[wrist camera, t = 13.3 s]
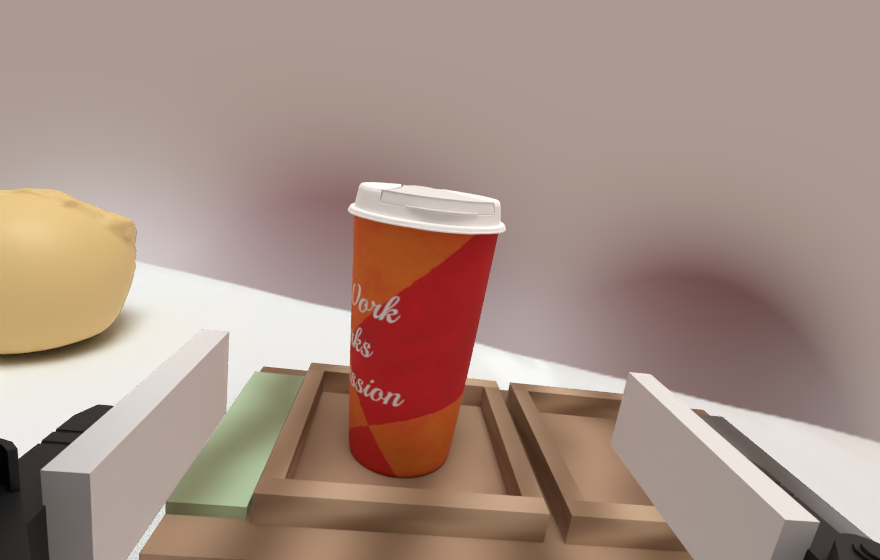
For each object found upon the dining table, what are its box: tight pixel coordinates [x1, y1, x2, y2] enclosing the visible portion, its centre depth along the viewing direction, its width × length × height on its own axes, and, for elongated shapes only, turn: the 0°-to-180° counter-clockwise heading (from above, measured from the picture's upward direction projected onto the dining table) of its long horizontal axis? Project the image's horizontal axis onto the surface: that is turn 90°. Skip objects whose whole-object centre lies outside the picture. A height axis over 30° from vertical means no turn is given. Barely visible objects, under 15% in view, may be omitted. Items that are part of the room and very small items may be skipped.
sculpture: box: [0, 188, 137, 354], centre depth 33 cm, size 11×12×11 cm
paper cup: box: [348, 182, 506, 478], centre depth 24 cm, size 8×8×14 cm
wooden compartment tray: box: [139, 363, 872, 560], centre depth 27 cm, size 33×16×2 cm, turn 94°
